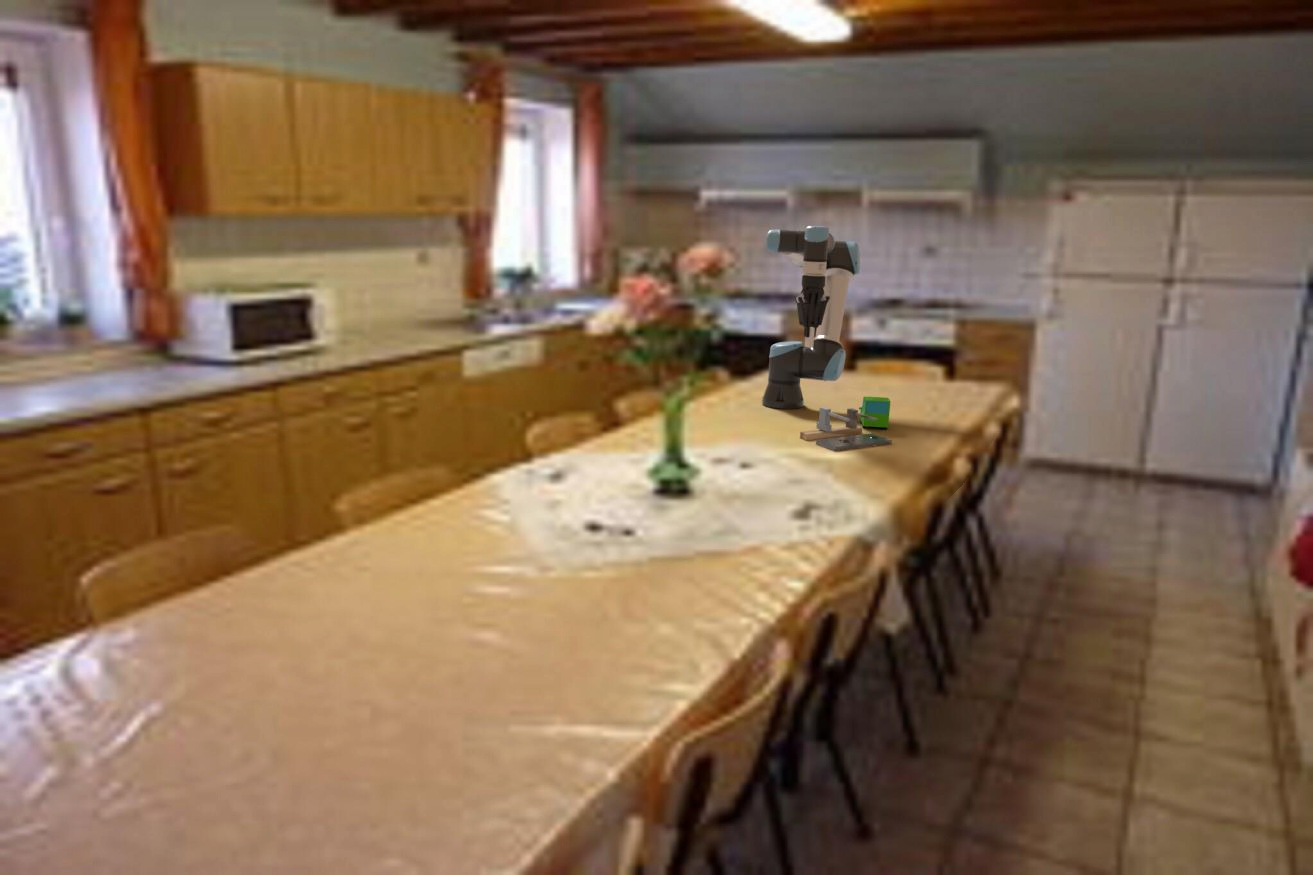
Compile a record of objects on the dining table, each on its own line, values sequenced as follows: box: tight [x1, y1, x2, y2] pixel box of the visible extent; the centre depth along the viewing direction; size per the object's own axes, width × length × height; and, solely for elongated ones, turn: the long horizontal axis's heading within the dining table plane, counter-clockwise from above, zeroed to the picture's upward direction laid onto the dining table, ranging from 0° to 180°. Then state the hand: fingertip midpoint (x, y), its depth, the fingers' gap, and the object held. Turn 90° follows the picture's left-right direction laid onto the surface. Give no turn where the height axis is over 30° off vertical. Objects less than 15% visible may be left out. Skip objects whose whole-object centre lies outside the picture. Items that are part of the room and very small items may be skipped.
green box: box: [858, 396, 891, 430], centre depth 319 cm, size 10×13×10 cm
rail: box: [799, 407, 878, 441], centre depth 299 cm, size 13×23×8 cm, turn 119°
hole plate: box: [815, 432, 893, 452], centre depth 295 cm, size 9×23×1 cm, turn 119°
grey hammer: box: [816, 406, 850, 432], centre depth 297 cm, size 14×2×7 cm, turn 29°
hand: (808, 346), depth 312 cm, fingers closed
